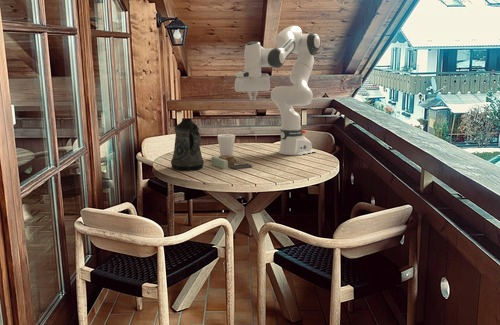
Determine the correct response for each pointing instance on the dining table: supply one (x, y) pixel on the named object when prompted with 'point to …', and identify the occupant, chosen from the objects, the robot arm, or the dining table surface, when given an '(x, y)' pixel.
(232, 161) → the walnut block
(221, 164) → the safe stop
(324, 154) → the dining table surface
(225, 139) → the foam cup
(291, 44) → the robot arm
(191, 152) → the beer stein
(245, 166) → the trap pair
